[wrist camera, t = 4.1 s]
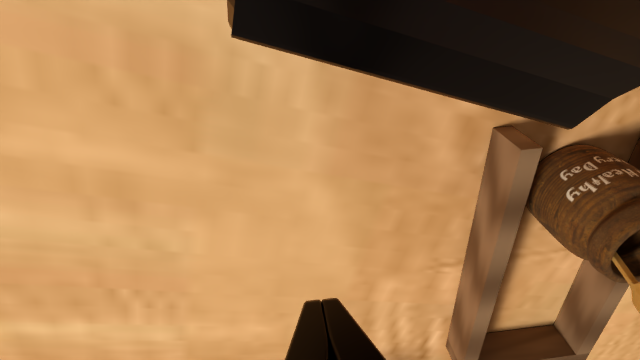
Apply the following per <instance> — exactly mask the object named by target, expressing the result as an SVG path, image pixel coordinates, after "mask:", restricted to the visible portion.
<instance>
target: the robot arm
mask: <svg viewBox="0 0 640 360" xmlns="http://www.w3.org/2000/svg"><path fill="white" fill-rule="evenodd" d="M227 8H228V22H229V25H230V27H231V29H232V34H231V37H232V38H236V39H239V40H243V41H246V42H250V43H254V44H257V45H261V46H265V47H268V48H272V49H276V50H279V51H283V52H287V53H290V54H294V55H297V56H301V57H305V58H308V59H312V60H316V61H319V62H323V63H327V64H330V65H334V66H338V67H341V68H345V69H349V70H352V71H356V72H359V73H363V74H367V75H370V76H374V77H378V78H381V79H385V80H389V81H392V82H396V83H400V84H403V85H407V86H411V87H414V88H418V89H421V90H425V91H429V92H432V93H436V94H440V95H443V96H447V97H451V98H454V99H458V100H462V101H465V102H469V103H473V104H476V105H480V106H484V107H487V108H491V109H494V110H498V111H502V112H506V113H510V114H513V115H517V116H521V117H524V118H528V119H532V120H535V121H539V122H542V123H546V124H550V125H553V126H557V127H561V128H564V129H572V128H574V127H575V126H577V125H578V124H580V123H581V122H582V121H584V120H585V119H586V118H588V117H589V116H591V115H592V114H593V113H595V112H596V111H597V110H599V109H600V108H601V107H603V106H604V105H605V104H607V103H608V102H610V101H611V100H612V99H614V98H616V97H618V96H620V95H622V94H624V93H626V92H628V91H631V90H633V89H635V88H637V87H639V86H640V0H227ZM285 360H386V359H385V358H384V357H383V355H382V354H381V353H380V351H379V350H378V349H377V348H376V346H375V345H374V344H373V343H372V341H371V340H370V339H369V338H368V336H367V335H366V334H365V332H364V331H363V330H362V329H361V327H360V326H359V325H358V324H357V322H356V321H355V320H354V319H353V317H352V316H351V315H350V314H349V312H348V311H347V310H346V308H345V307H344V306H343V305H342V303H341V302H340V301H339V300H338V299H337V298H329V299H323V300H322V301H320V300H311V301H306V302H305V303H304V305H303V308H302V311H301V314H300V317H299V320H298V323H297V326H296V329H295V332H294V335H293V338H292V340H291V343H290V346H289V349H288V352H287V355H286V358H285Z"/></svg>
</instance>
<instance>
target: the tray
mask: <svg viewBox="0 0 640 360" xmlns="http://www.w3.org/2000/svg"><path fill="white" fill-rule="evenodd" d="M542 149H543V148H542V147H541V146H539V145H538V144H537V143H535V142H534V141H532V140H531V139H530V138H528V137H527V136H525V135H524V134H523V133H521V132H520V131H518V130H517V129H516V128H514V127H513V126H508V127H497V128H493V131H492V135H491V140H490V145H489V149H488V154H487V159H486V163H485V168H484V172H483V177H482V182H481V186H480V191H479V195H478V200H477V205H476V209H475V214H474V219H473V223H472V228H471V232H470V237H469V242H468V246H467V251H466V256H465V260H464V265H463V269H462V274H461V279H460V283H459V288H458V293H457V297H456V302H455V306H454V311H453V316H452V320H451V325H450V329H449V334H448V339H447V343H446V347H447V350H448V352H449V354H450V357H451V359H452V360H586V358H587V357H588V355H589V353H590V352H591V350H592V348H593V346H594V345H595V343H596V341H597V340H598V338H599V336H600V334H601V333H602V331H603V329H604V328H605V326H606V324H607V322H608V321H609V319H610V317H611V316H612V314H613V312H614V310H615V309H616V307H617V305H618V304H619V302H620V300H621V298H622V297H623V295H624V293H625V292H626V290H627V288H628V286H629V284H628V283H618V282H615V281H612V280H610V279H608V278H607V277H605V276H604V275H602V274H601V273H600V272H598V271H597V270H596V269H595V268H593V266H592V265H591V264H590V262H589V261H588V260H583V262H582V264H581V267H580V269H579V271H578V273H577V275H576V277H575V280H574V282H573V284H572V286H571V288H570V291H569V293H568V295H567V297H566V299H565V301H564V304H563V306H562V308H561V310H560V312H559V314H558V317H557V319H556V321H555V323H554V325H549V326H541V327H533V328H525V329H517V330H509V331H501V332H493V333H486V332H487V329H488V325H489V322H490V319H491V316H492V312H493V309H494V306H495V303H496V299H497V296H498V293H499V289H500V286H501V283H502V280H503V276H504V273H505V270H506V267H507V263H508V260H509V257H510V254H511V250H512V247H513V244H514V241H515V237H516V234H517V231H518V227H519V224H520V221H521V218H522V214H523V211H524V208H525V205H526V201H527V198H528V195H529V192H530V188H531V185H532V182H533V179H534V175H535V172H536V169H537V165H538V162H539V159H540V156H541V152H542ZM628 164H630V165H632V166H634V167H635V168H637V169H639V170H640V138H639V140H638V143H637V145H636V147H635V149H634V151H633V154H632V156H631V158H630V160H629V162H628Z"/></svg>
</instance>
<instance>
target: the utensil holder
mask: <svg viewBox="0 0 640 360" xmlns="http://www.w3.org/2000/svg"><path fill="white" fill-rule="evenodd" d="M526 206H527V208H528V209H529V211H530V212H531V213H532V214H533V216H534V217H535V218H536V219H537V220H538V221H539V222H540V223H541V224H542V225H543V226H544V227H545V228H546V229H547V230H548V231H549V232H550V233H551V234H552V235H553V236H554V237H555V238H556V239H557V240H558V241H559V242H560V243H561V244H562V245H563V246H564V247H565V248H567V249H568V250H569V251H570V252H572V253H573V254H575V255H576V256H578V257H580V258H582V259H584V260H588V261H589V262H590V264H591V265H592V266H593V268H595V269H596V270H597V271H598V272H600V273H601V274H602V275H604V276H605V277H607V278H608V279H610V280H612V281H615V282H618V283H628V284H629V285H630V287H631V290H632V302H633V304H634V306H635V307H636V309H637V310H638V312H639V313H640V170H639V169H637V168H635V167H634V166H632V165H630V164H628V163H627V162H625V161H623V160H622V159H620V158H618V157H616V156H614V155H613V154H611V153H609V152H607V151H605V150H603V149H600V148H597V147H594V146H590V145H575V146H570V147H566V148H563V149H561V150H558V151H556V152H554V153H553V154H551V155H549V156H548V157H546V158H545V159H544V160H542V161H541V162H540V163H539V164H538V165H537V169H536V172H535V175H534V179H533V182H532V185H531V188H530V192H529V195H528V198H527V201H526Z"/></svg>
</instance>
